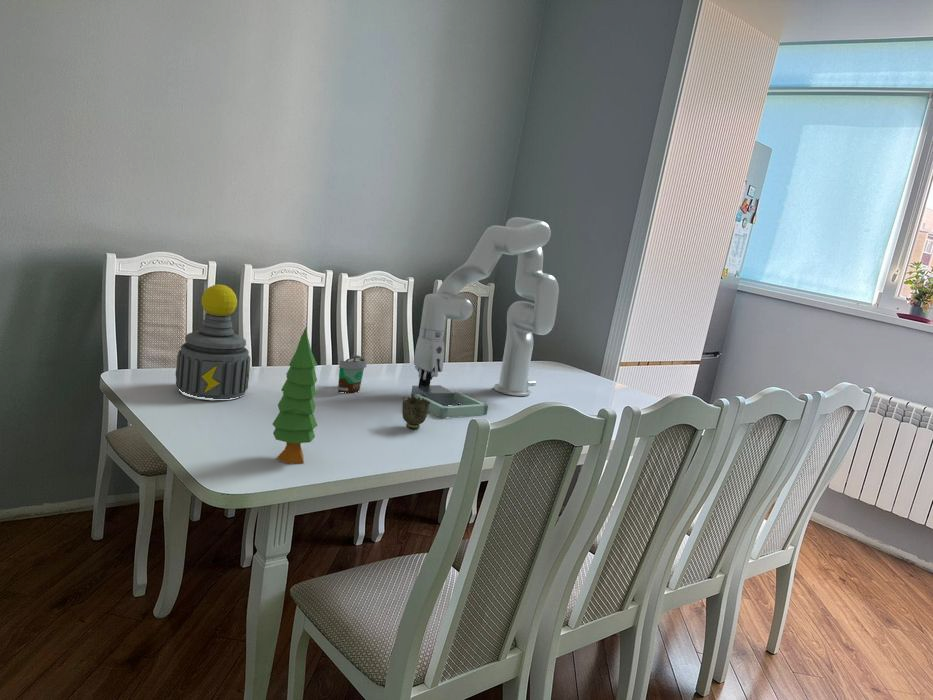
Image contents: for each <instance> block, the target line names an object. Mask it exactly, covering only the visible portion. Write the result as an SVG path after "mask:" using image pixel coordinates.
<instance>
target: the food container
mask: <svg viewBox="0 0 933 700" xmlns="http://www.w3.org/2000/svg"><path fill="white" fill-rule="evenodd" d="M338 368H339V373H338V384H337V385H338V386H337V387H338V388H337V393H340V392H344V393H343V394H356V393H355V392H358V391H359V392H360V391H361V386H362V381H363V375H364V371H365V369H366V368H367V360H366V358H365V357H363V356H360V355H357V354H353V355H352V357H351V358H347V359H346V360H340V362H339V365H338ZM345 392H346V393H345ZM359 392H358V393H359Z"/></svg>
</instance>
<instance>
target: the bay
mask: <svg viewBox="0 0 933 700" xmlns="http://www.w3.org/2000/svg"><path fill="white" fill-rule="evenodd" d="M453 392H454V399H453V402H454V401H455V402H454V403H456V402H457V404H458V403H460V404H462V405H460V404H459V405H453V406H443V405H440V404H438V403H436V402H434V401H432V400H430V399H428V398H426V397H424V396H422V395H420V394H415V395H414V397H415V398H417V399H418V398H419V397H420V401H421V400H422V399H423V398H424V400H425V399H427V402H428V401H429V402H430V406H429V410H428V413H431V414H433V415H435V416H437V417H439V416H440V417H439V418H441V417H442V418H441V419H447V418H446V417H454V418H460V417H459V416H466V417H475V415H477V416H487V415H488V411H489V410H488V408H489V404H486V403H484V402H482V401H479V400H477V399H475V398H473V397H471V396H469V395H467V394H464V393H462V392H460V391H453ZM486 414H487V415H486Z"/></svg>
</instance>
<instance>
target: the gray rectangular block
mask: <svg viewBox="0 0 933 700" xmlns="http://www.w3.org/2000/svg"><path fill="white" fill-rule="evenodd" d="M454 392H455V391H452V390H450V389H448V388H446V387H444V386H442V385H441V384H439V385H437V384H435V385H431V384H430V385H424V386H419V385H412V386H411V393H410V394H411V395H410V398H411V397H412V396H414V395H415V394H420V395H422V396H424V397H426V398H428V399H430V400H432V401H434V402H436V403H438V404H440V405H443V406H445V407H447V406H448V405H453V406H454V401H453V399H454Z"/></svg>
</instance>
